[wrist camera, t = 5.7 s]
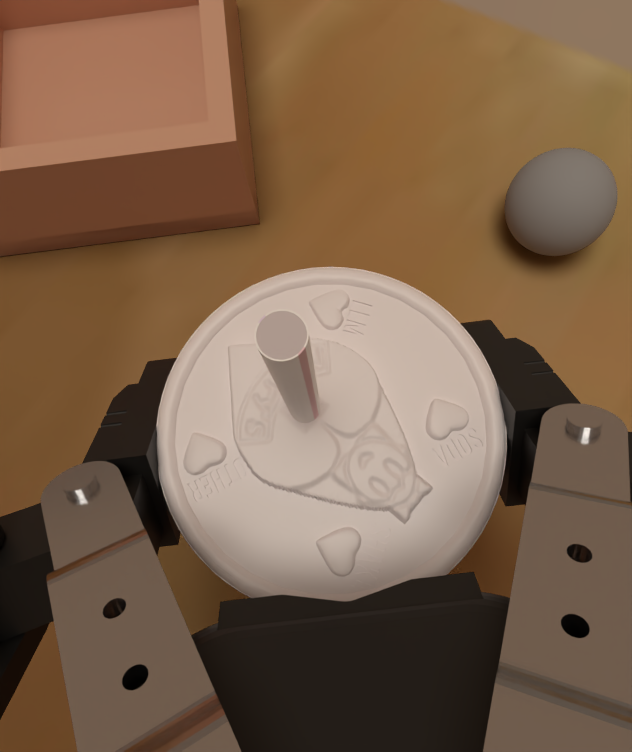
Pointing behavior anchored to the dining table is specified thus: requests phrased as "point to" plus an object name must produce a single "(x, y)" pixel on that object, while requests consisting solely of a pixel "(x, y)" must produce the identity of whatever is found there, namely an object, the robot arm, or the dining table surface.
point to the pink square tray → (121, 122)
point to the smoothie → (330, 437)
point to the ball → (560, 201)
